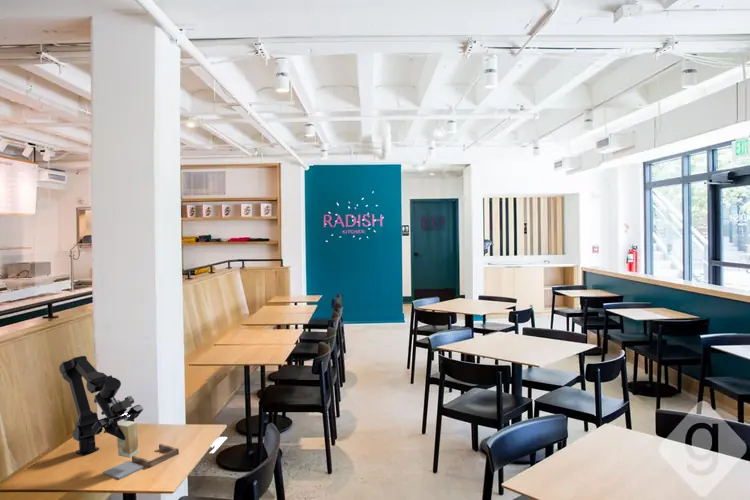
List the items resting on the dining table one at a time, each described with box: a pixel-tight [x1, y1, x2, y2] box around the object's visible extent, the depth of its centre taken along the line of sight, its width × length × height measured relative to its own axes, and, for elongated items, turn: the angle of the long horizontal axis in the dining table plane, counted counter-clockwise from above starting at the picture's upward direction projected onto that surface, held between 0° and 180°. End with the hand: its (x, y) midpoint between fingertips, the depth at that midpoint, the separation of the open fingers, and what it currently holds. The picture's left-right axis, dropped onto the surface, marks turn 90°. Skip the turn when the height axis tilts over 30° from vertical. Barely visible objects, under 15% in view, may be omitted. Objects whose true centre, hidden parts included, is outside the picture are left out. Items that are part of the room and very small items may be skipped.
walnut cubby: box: [131, 443, 180, 468], centre depth 197 cm, size 11×13×2 cm
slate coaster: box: [102, 460, 145, 480], centre depth 187 cm, size 10×10×1 cm
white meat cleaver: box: [208, 436, 228, 455], centre depth 206 cm, size 5×15×1 cm, turn 175°
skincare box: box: [116, 420, 140, 459], centre depth 188 cm, size 6×4×12 cm
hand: (129, 436), depth 187 cm, fingers closed on skincare box, 4 cm apart
